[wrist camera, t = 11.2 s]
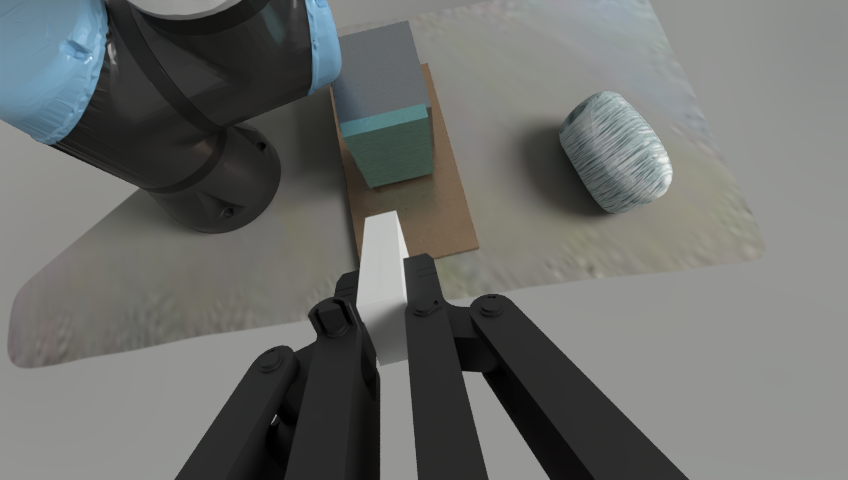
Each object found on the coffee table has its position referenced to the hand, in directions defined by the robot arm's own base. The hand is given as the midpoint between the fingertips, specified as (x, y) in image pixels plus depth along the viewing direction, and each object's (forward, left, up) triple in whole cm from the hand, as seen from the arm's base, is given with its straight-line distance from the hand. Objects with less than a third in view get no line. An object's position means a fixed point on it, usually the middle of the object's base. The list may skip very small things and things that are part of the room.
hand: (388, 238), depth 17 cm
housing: (-8, +15, -24) cm, 29 cm away
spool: (+16, +21, -24) cm, 36 cm away
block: (-10, +19, -22) cm, 30 cm away
